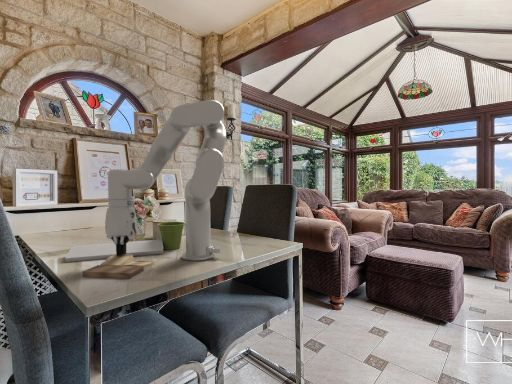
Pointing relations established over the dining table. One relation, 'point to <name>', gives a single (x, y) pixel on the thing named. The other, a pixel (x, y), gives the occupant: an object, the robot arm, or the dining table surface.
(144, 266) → the plank
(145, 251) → the decorative molding
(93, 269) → the floor row
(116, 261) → the plank
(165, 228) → the plant pot
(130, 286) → the dining table surface
